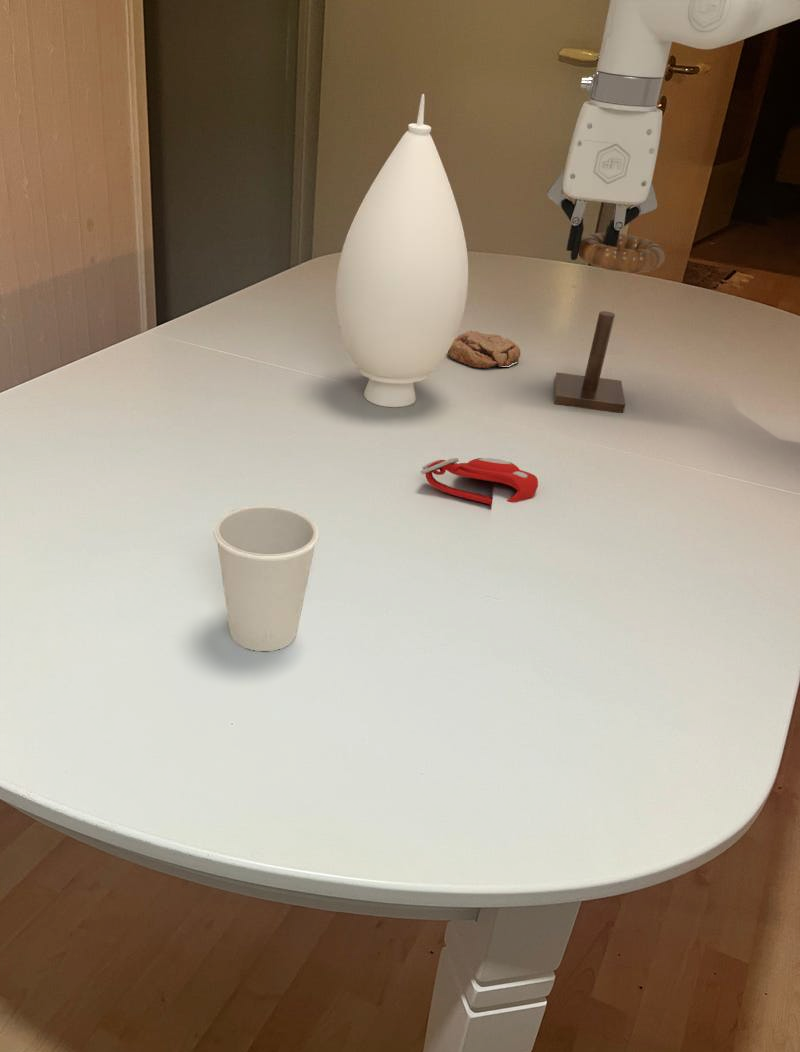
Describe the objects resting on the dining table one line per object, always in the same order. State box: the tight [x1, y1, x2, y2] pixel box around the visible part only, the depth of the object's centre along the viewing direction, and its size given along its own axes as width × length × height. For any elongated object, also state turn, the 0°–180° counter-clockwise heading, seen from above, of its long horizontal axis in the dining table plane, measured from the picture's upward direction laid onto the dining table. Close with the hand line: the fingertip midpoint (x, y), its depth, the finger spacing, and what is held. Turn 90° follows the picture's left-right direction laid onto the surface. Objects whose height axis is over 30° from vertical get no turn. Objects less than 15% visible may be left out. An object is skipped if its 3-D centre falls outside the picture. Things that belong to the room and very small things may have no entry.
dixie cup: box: [212, 504, 320, 652], centre depth 78 cm, size 8×8×10 cm
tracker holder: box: [420, 457, 539, 505], centre depth 104 cm, size 12×4×10 cm
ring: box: [578, 232, 665, 274], centre depth 119 cm, size 10×10×3 cm
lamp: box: [335, 93, 469, 408], centre depth 116 cm, size 16×16×35 cm
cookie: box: [447, 330, 521, 369], centre depth 140 cm, size 10×11×3 cm
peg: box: [554, 310, 626, 414], centre depth 127 cm, size 9×9×11 cm
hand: (588, 257), depth 120 cm, fingers closed on ring, 3 cm apart
